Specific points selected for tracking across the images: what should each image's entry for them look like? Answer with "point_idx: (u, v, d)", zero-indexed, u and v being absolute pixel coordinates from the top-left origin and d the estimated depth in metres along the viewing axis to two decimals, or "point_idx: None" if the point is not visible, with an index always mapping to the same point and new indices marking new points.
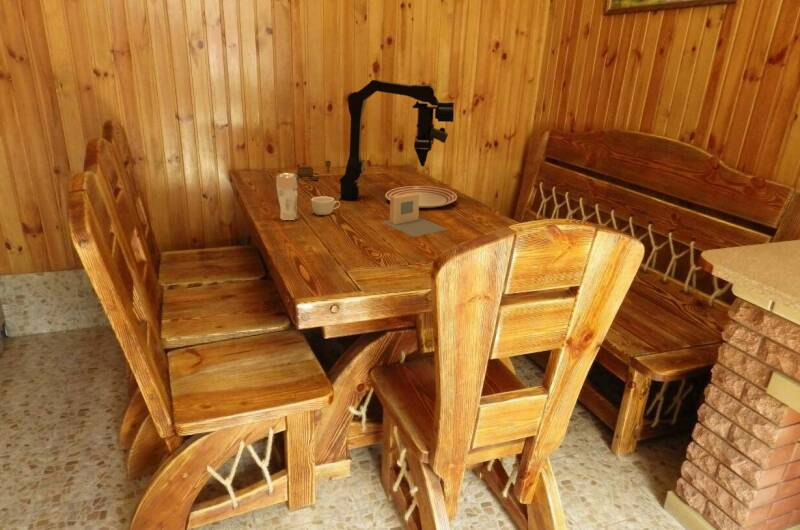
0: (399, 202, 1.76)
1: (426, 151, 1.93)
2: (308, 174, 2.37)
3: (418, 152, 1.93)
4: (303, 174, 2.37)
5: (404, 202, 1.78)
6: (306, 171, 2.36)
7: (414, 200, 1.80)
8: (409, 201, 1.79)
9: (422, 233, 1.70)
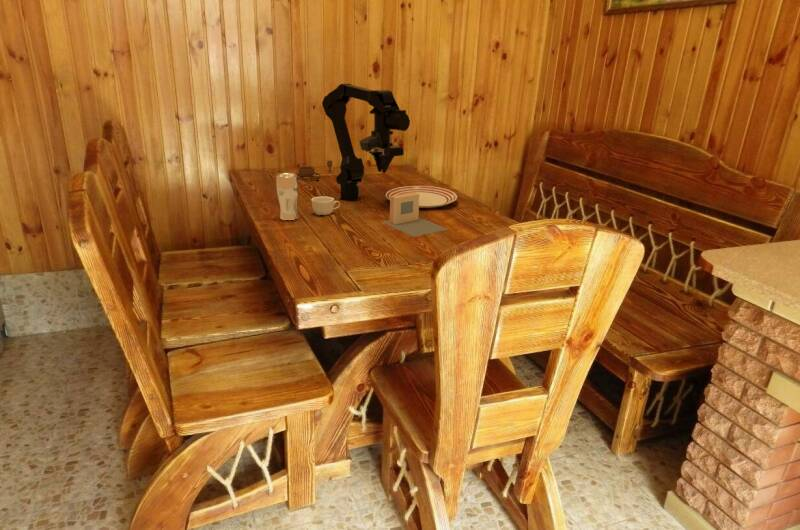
0: (399, 202, 1.76)
1: None
2: (309, 174, 2.38)
3: None
4: (304, 174, 2.37)
5: (404, 202, 1.78)
6: (307, 171, 2.37)
7: (414, 200, 1.80)
8: (409, 201, 1.79)
9: (422, 233, 1.70)
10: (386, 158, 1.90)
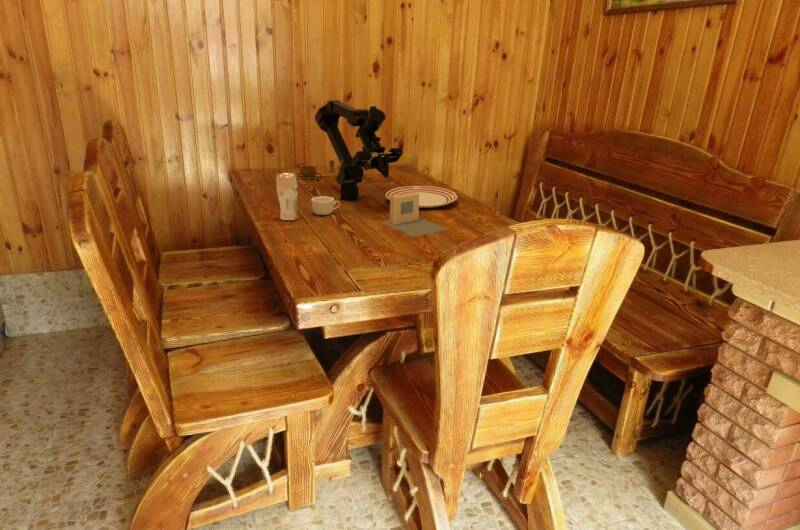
0: (399, 202, 1.76)
1: None
2: (310, 174, 2.38)
3: None
4: (305, 173, 2.38)
5: (404, 202, 1.78)
6: (308, 171, 2.37)
7: (414, 200, 1.80)
8: (409, 201, 1.79)
9: (422, 233, 1.70)
10: (378, 164, 1.85)
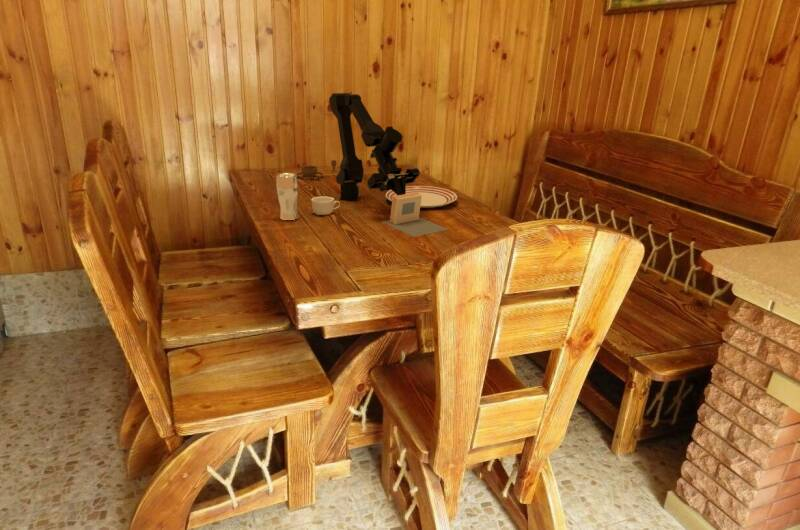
0: (401, 203, 1.75)
1: None
2: (311, 173, 2.39)
3: None
4: (306, 173, 2.38)
5: (406, 203, 1.77)
6: (309, 170, 2.38)
7: (416, 202, 1.79)
8: (411, 202, 1.78)
9: (422, 233, 1.70)
10: (394, 186, 1.80)
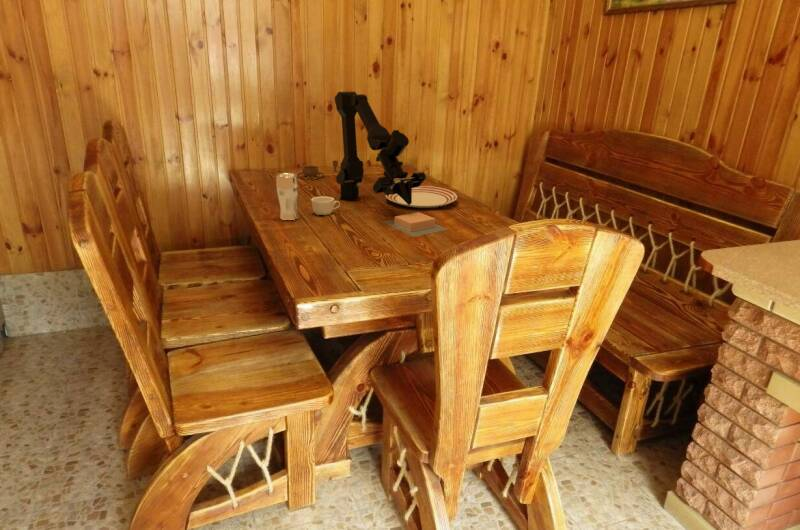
0: None
1: None
2: (312, 173, 2.39)
3: None
4: (307, 173, 2.39)
5: None
6: (310, 170, 2.38)
7: None
8: None
9: (422, 233, 1.70)
10: (400, 190, 1.78)
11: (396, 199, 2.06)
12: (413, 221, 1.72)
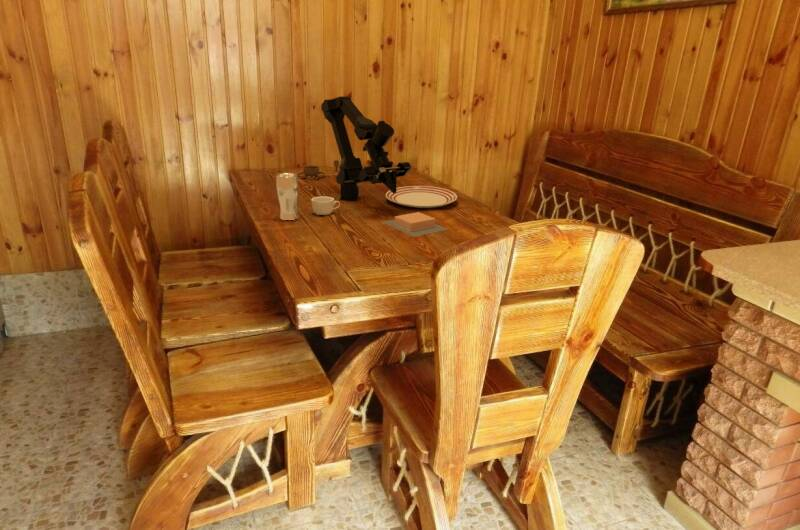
0: None
1: None
2: (313, 173, 2.39)
3: None
4: (308, 173, 2.39)
5: None
6: (311, 170, 2.38)
7: None
8: None
9: (422, 233, 1.70)
10: (385, 179, 1.83)
11: (396, 199, 2.06)
12: (413, 221, 1.72)
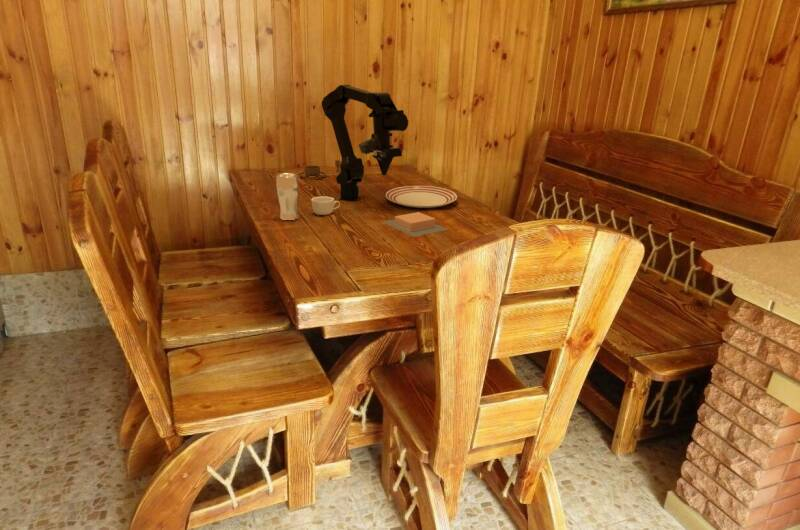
0: None
1: None
2: (314, 173, 2.40)
3: None
4: (309, 173, 2.39)
5: None
6: (312, 170, 2.39)
7: None
8: None
9: (422, 233, 1.70)
10: (385, 160, 1.90)
11: (396, 199, 2.06)
12: (413, 221, 1.72)
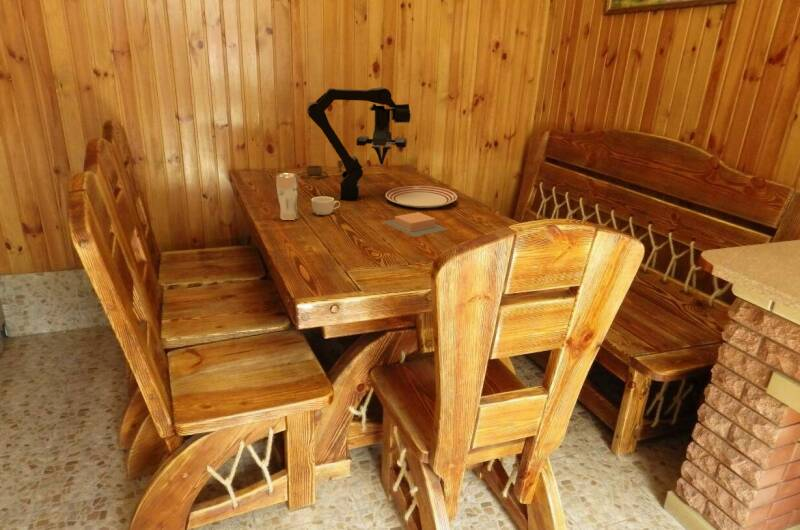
0: None
1: None
2: (316, 173, 2.40)
3: None
4: (311, 173, 2.40)
5: None
6: (314, 170, 2.39)
7: None
8: None
9: (422, 233, 1.70)
10: None
11: (396, 199, 2.06)
12: (413, 221, 1.72)
